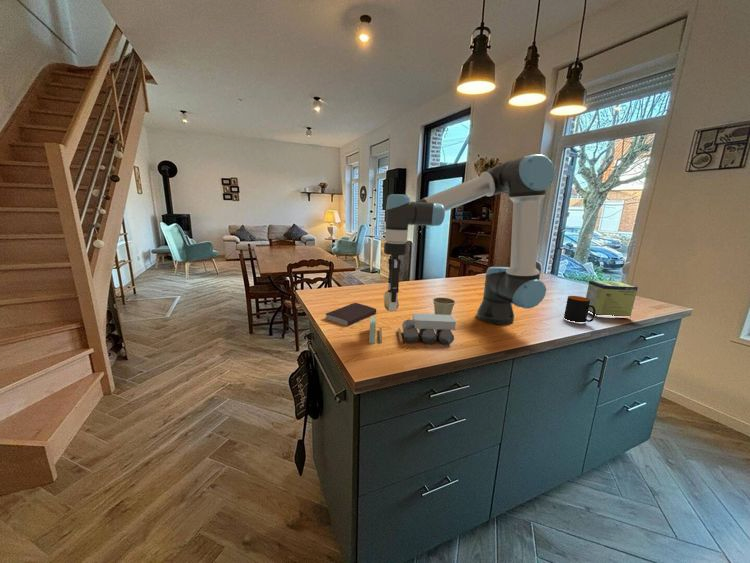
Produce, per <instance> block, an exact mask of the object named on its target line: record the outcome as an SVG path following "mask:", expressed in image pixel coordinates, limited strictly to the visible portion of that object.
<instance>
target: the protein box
mask: <svg viewBox="0 0 750 563" xmlns="http://www.w3.org/2000/svg"><path fill="white" fill-rule="evenodd" d="M638 287H639V286H635V285H632V284H629V283H626V282H622V281H610V280H609V281H608V280H607V281H606V280H605V281H604V280H589V281H588V286H587V290H586V295H585V298H588V299H590V304H589V305H592V306H594V308H595V310H596V312H595V314H596V315H612V316H613V315H614V316H630V317H631V316H632V312H633V308H634V305H635V301H636V300H635V299H636V295H637V292H638V289H639V288H638ZM588 311H590V312H592V313H593V308H592V307H589V309H588Z"/></svg>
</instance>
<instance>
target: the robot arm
mask: <svg viewBox="0 0 750 563" xmlns="http://www.w3.org/2000/svg"><path fill="white" fill-rule="evenodd" d="M554 165H555V164H554V163H553V161H552V160H550V159H549V157H547V155H543V154H539V153H538V154H529V155H526V156H521V157H517V158H514V159H510V160H507V161H505V162H502V163H500V164H498V165H496V166H494V167H492V168H490V169H488V170H485V171H483V172H481V173H480V175H479V176H477V177H475V178H472V179H470V180H466V181H465V182H461V183H459V184H456V185H455V186H454V185H453V186H452V187H448V188H446V189H444V190H442V191H439V192H437V193H436V192H435V193H434V194H431V195H429V196H426V197H424V198H422V199H419V200H416V201H412V200H411V197H410V196H411V195H409V194H399V193H398V194H395V193H393V194H389V195H388V196H387V198H386V206H385V226H384V227H385V230H384V231H383V232H382V234H383V235H384V241H385V242H384V245H383V253H384V254H385V255H389V258H388V261H387V262H388V278H387V279H388V284H387V291H388V292H390V293H389V311H388V312H397V310H398V308H397V299H398V296H399V292H400V288H399V287H400V286H399V284H400V271H401V261H402V260H401V259H400V256H405V255H406V254H407V246H408V244H407V242H408V235H409V234H408V233H409V225H410V226H428V227H429V226H430V227H436V226H437V227H439V226H441V225H442V224H443V222H444V220H445V217H446V216H445V214H446V212H447V211H450V210H452V209H454V208H458V207H460V206H462V205H465V204H467V203H470V202H472V201H475V200H477V199H481V198H482V197H485V196H486V197H492V196H495V195H500V194H504V193H508V199H509V200H510V201H511V202H512V221H511V222H512V223H511V242H510V244H511V245H510V266H490V267H488V268H487V270H486V272H485V281H484V288H483V297H482V301H481V303H480V305H479V306H478V309H477V311H476V317H477V319H479V320H480V321H482V322H484V323H485V322H486V323H487V324H488V323H489V324H493V325H501V326H502V325H503V326H504V325H505V326H506V325H511V324H513V323H514V321H515V313H514V310H513V305H514V306H516V307H519V308H523V309H533V308H535V307H537V306H538V305H539V304H540V303H542V301H543V300H544V299H545V296H546V292H547V287H546V284H545V283H544V282H543V281H542V280H541V279H540V277H541V271H540V270H539V269H538V268H537V254H538V253H537V250H538V237H539V235H538V234H539V224H540V222H539V220H540V208H541V207H540V205H541V200H542V199H543V198H544V197H545V196H546V192H547V191H546V190H547V189H548V188H549V187H550V186H551V185H552V184H553V182H554V181H555V180H554V179H555V176H556V170H555V166H554Z"/></svg>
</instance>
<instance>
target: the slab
mask: <svg viewBox="0 0 750 563" xmlns="http://www.w3.org/2000/svg"><path fill="white" fill-rule="evenodd" d="M411 320H412V322H413V325H414V328H416V329H417V330H419V329H441V330H451V331H455V330H456V326H457V325H456V323H457V322H456V320H455V318H454V317H453V316H452V314H451V315H438V314H435V313H434V314H432V313H431V314H430V313H412V319H411Z"/></svg>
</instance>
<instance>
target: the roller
mask: <svg viewBox="0 0 750 563" xmlns="http://www.w3.org/2000/svg"><path fill="white" fill-rule="evenodd" d="M389 293H390V292H388V290H386V291H385V292H384V294H383V305H384V309H385V310H386V311H388V312H390V311H389ZM398 308H399V299H398V298H397V309H398Z"/></svg>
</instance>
